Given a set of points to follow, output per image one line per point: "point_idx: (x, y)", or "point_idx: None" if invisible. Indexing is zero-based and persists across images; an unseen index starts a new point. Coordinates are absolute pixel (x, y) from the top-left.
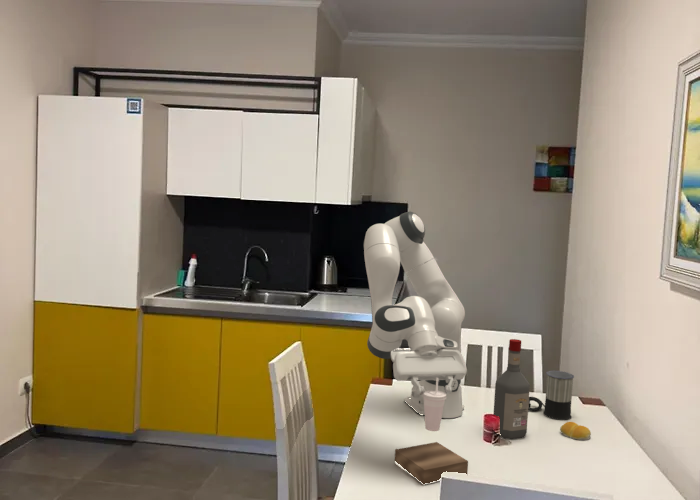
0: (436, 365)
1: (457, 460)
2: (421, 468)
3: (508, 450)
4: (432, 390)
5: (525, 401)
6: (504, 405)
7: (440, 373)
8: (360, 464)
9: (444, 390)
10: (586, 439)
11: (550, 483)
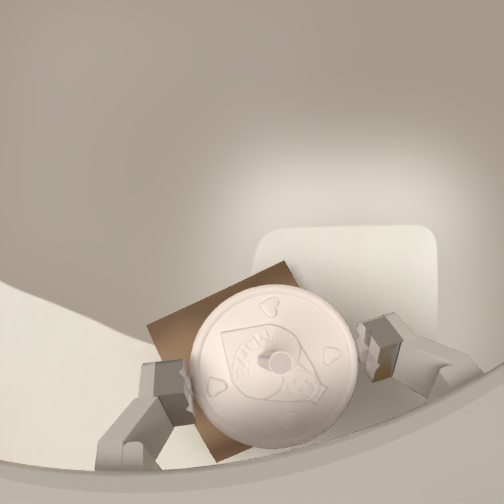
0: None
1: (176, 328)
2: (290, 273)
3: (33, 462)
4: (279, 439)
5: None
6: None
7: (228, 466)
8: None
9: (194, 406)
10: None
11: (3, 289)
